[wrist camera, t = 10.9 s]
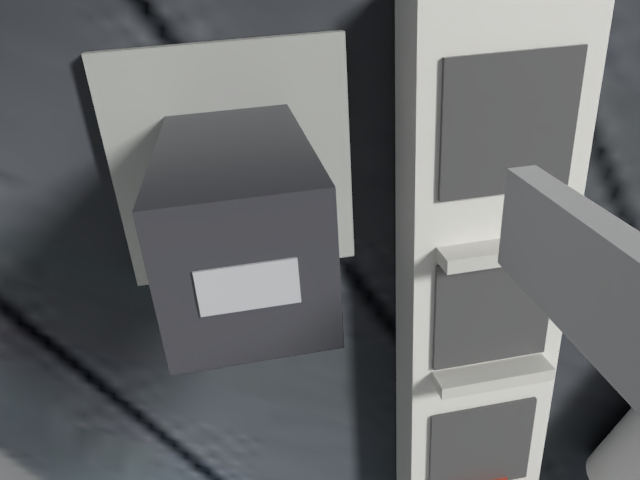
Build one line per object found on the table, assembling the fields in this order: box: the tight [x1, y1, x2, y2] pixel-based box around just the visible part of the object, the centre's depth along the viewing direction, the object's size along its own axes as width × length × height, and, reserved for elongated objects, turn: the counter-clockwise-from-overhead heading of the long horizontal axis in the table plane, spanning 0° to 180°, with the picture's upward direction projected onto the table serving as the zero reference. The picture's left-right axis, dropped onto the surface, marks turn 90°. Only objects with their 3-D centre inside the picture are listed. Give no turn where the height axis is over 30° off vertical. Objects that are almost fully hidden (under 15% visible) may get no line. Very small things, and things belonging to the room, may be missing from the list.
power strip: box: [395, 0, 615, 480], centre depth 22 cm, size 34×7×4 cm, turn 4°
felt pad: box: [81, 30, 354, 286], centre depth 21 cm, size 9×9×1 cm
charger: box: [132, 104, 344, 376], centre depth 17 cm, size 4×4×9 cm
